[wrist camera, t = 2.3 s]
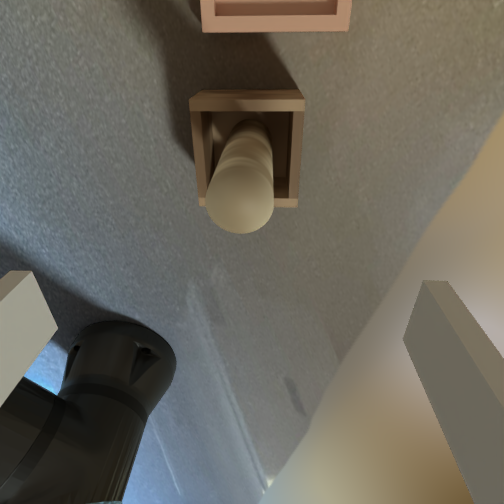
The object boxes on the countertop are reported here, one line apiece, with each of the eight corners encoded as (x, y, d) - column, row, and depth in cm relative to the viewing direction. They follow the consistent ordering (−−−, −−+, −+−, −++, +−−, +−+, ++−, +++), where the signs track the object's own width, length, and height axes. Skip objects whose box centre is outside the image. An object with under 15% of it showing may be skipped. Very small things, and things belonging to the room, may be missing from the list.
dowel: (230, 162, 32) (207, 233, 20) (228, 118, 30) (202, 169, 18) (271, 162, 32) (272, 234, 20) (272, 118, 30) (275, 170, 18)
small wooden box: (209, 181, 34) (199, 206, 29) (202, 89, 29) (188, 99, 24) (293, 182, 34) (297, 207, 29) (298, 89, 29) (305, 99, 24)
